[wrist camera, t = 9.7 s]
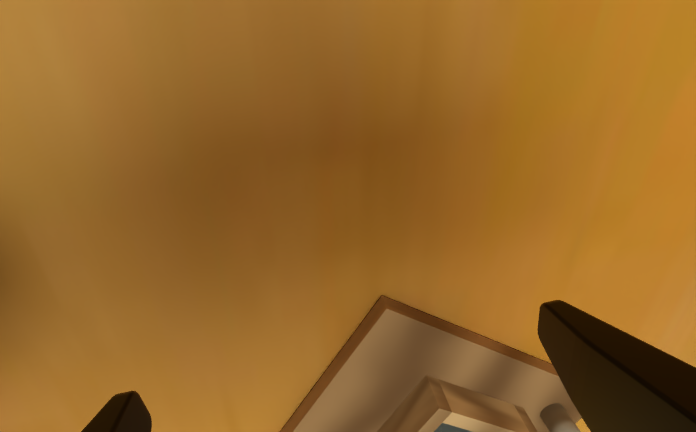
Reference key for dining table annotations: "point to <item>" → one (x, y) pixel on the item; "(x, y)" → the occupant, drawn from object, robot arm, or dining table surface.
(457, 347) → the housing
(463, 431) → the pale gray block
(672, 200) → the dining table surface
